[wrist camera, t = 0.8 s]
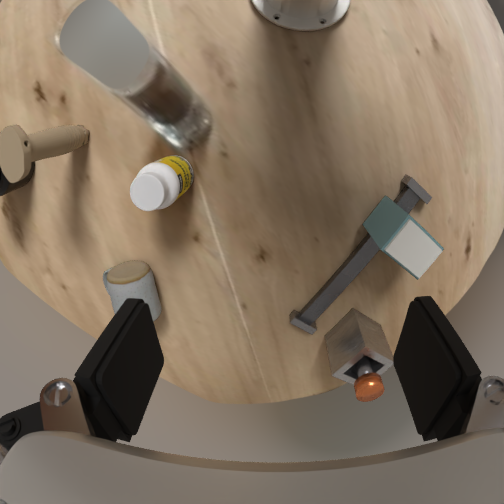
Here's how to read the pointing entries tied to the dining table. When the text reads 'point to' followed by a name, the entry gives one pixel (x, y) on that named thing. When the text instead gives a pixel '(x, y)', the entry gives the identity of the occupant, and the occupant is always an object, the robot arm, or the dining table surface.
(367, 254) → the rail
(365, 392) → the plunger
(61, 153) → the handle
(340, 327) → the grey button box
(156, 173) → the supplement bottle
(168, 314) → the dining table surface
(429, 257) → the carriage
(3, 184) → the ink bottle
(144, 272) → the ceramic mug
